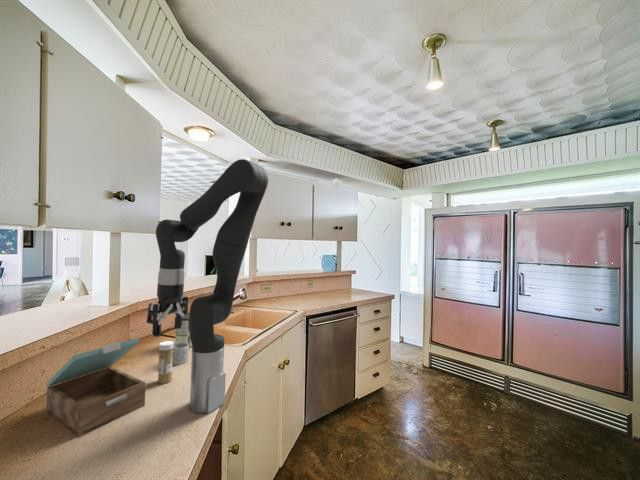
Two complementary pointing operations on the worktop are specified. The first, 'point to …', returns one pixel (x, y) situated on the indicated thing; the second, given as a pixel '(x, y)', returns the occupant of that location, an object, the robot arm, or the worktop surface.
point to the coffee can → (184, 331)
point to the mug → (180, 353)
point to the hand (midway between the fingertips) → (167, 332)
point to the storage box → (94, 399)
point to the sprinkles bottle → (165, 362)
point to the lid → (92, 361)
